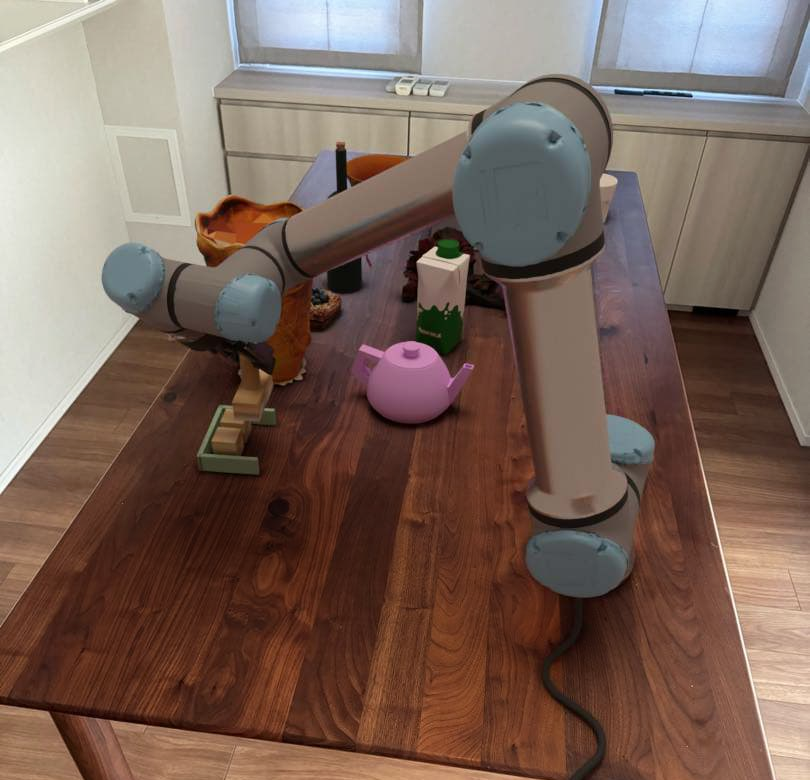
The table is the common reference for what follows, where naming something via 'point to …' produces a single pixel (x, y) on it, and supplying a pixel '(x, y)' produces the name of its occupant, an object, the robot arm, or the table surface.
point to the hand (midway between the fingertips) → (262, 364)
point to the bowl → (370, 166)
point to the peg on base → (251, 392)
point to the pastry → (323, 309)
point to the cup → (606, 192)
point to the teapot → (408, 381)
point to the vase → (291, 338)
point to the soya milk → (441, 296)
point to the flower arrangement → (477, 286)
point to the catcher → (226, 461)
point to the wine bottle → (351, 273)
